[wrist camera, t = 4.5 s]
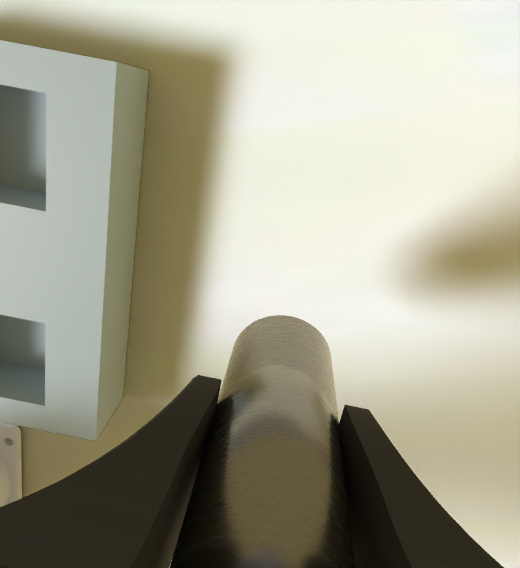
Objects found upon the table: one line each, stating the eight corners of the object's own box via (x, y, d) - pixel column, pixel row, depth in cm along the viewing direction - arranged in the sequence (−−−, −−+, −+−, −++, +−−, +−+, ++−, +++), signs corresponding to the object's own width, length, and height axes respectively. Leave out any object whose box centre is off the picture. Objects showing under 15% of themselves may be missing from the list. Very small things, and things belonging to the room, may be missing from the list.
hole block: (123, 397, 24) (95, 441, 21) (-41, 363, 25) (-94, 402, 21) (149, 70, 19) (116, 61, 15) (-66, 29, 19) (-144, 12, 15)
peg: (318, 410, 15) (334, 692, 8) (225, 391, 15) (153, 653, 8) (341, 326, 14) (385, 563, 7) (240, 306, 14) (173, 519, 7)
